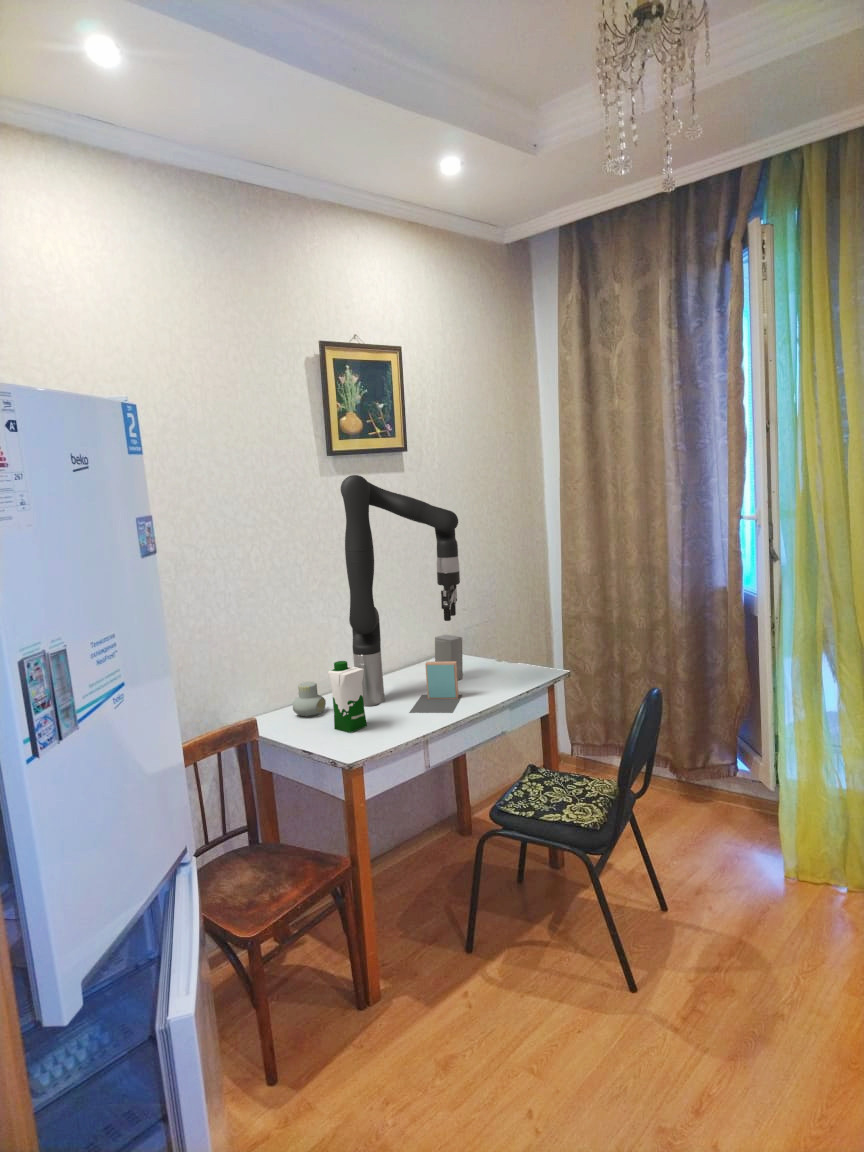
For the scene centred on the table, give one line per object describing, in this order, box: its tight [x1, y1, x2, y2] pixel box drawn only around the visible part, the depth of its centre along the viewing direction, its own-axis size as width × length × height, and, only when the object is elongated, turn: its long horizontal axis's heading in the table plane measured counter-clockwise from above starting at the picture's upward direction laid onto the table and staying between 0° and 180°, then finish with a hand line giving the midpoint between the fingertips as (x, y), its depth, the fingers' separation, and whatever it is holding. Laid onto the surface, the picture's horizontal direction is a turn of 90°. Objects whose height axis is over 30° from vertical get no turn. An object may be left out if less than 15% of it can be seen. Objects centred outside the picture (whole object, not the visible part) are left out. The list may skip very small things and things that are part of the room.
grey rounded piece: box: [292, 681, 326, 717], centre depth 245 cm, size 11×8×10 cm
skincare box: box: [434, 634, 464, 681], centre depth 274 cm, size 8×7×16 cm
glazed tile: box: [424, 661, 459, 699], centre depth 251 cm, size 10×3×12 cm, turn 78°
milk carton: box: [327, 660, 368, 734], centre depth 228 cm, size 9×9×20 cm
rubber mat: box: [408, 694, 463, 714], centre depth 246 cm, size 14×19×1 cm
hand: (450, 618), depth 254 cm, fingers open, 8 cm apart
